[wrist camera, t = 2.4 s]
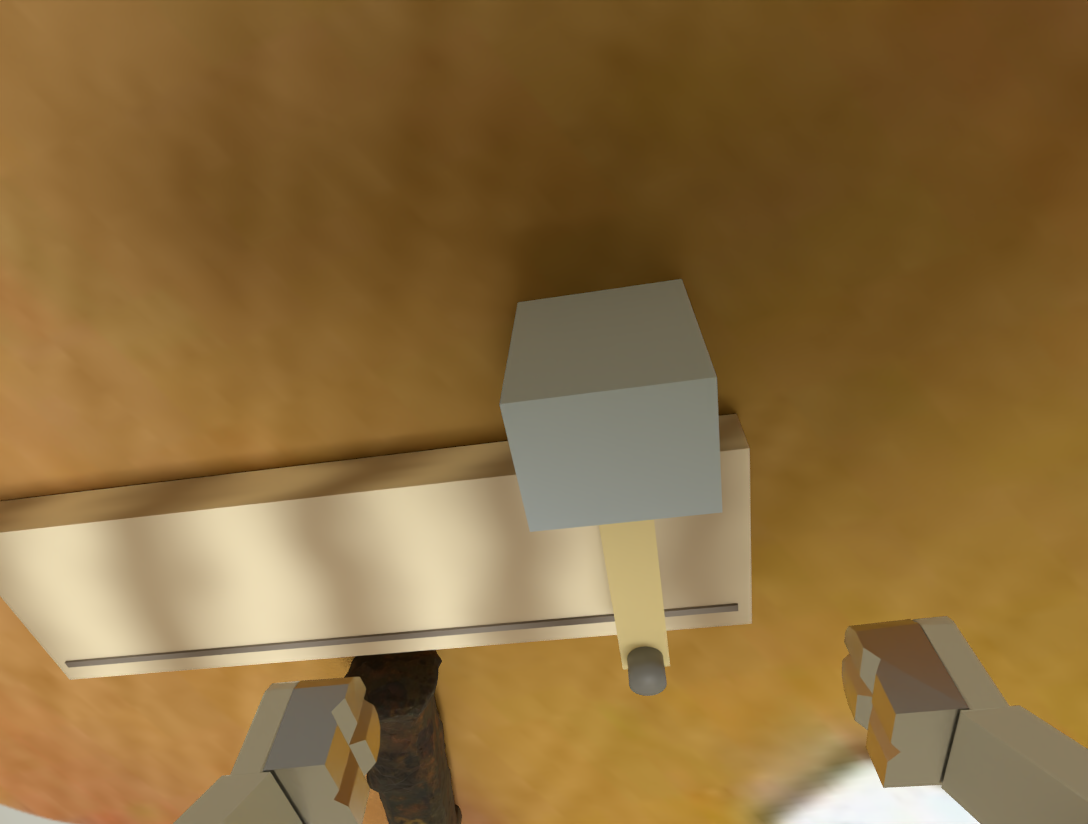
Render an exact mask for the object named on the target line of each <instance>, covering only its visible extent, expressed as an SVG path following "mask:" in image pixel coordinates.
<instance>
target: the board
mask: <svg viewBox="0 0 1088 824" xmlns="http://www.w3.org/2000/svg"><path fill="white" fill-rule="evenodd" d="M719 440H720V465H721V489H722V513H712V514H702V515H692V516H682V517H672V518H663V519H654V524H655V533H656V542H657V551H658V560H659V569H660V578H661V587H662V596H663V605H664V615H665V624H666V631H667V630H679V629H692V628H704V627H716V626H728V625H740V624H752V590H751V513H750V448H749V445H748V442H747V440H746V437H745V435H744V432H743V429H742V427H741V424H740V421H739V419H738V416H737V414H730V415H721V416H719ZM0 596H1V598H2V599H3V600H4V601H5V602H6V604H7V605H8V606H9V607H10V608H11V610H12V611H13V612H14V613H15V614H16V616H17V617H18V618H19V619H20V620H21V622H22V623H23V624H24V625H25V626H26V628H27V629H28V630H29V631H30V632H31V634H32V635H33V636H34V637H35V638H36V640H37V641H38V642H39V643H40V644H41V646H42V647H43V648H44V649H45V650H46V652H47V653H48V654H49V655H50V656H51V658H52V659H53V660H54V661H55V662H56V664H57V665H58V666H59V667H60V668H61V670H62V671H63V672H64V673H65V674H66V676H67V677H68V678H69V679H70V680H71V679H83V678H95V677H107V676H120V675H132V674H144V673H156V672H168V671H180V670H193V669H205V668H217V667H229V666H241V665H253V664H266V663H278V662H290V661H302V660H314V659H326V658H339V657H351V656H363V655H375V654H387V653H399V652H412V651H424V650H436V649H448V648H460V647H472V646H485V645H497V644H509V643H521V642H533V641H546V640H558V639H570V638H582V637H594V636H606V635H617V630H616V624H615V618H614V612H613V606H612V600H611V594H610V588H609V582H608V576H607V570H606V564H605V558H604V553H603V547H602V541H601V535H600V529H599V525H594V526H584V527H574V528H564V529H554V530H544V531H534V532H530V530H529V526H528V522H527V518H526V514H525V509H524V505H523V501H522V497H521V493H520V488H519V484H518V480H517V476H516V472H515V467H514V463H513V459H512V455H511V451H510V447H509V442H508V441H503V442H494V443H486V444H477V445H469V446H461V447H452V448H444V449H435V450H427V451H419V452H410V453H402V454H393V455H385V456H377V457H368V458H360V459H351V460H343V461H335V462H326V463H318V464H309V465H301V466H293V467H284V468H276V469H267V470H259V471H250V472H242V473H234V474H225V475H217V476H208V477H200V478H192V479H183V480H175V481H166V482H158V483H150V484H141V485H133V486H124V487H116V488H108V489H99V490H91V491H82V492H74V493H66V494H57V495H49V496H40V497H32V498H24V499H15V500H7V501H0Z"/></svg>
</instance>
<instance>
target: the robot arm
mask: <svg viewBox="0 0 1088 824" xmlns="http://www.w3.org/2000/svg"><path fill="white" fill-rule="evenodd" d="M844 642H845V644H846V647H847V649H848V651H849V653H850V654H849V655H847V656H846V657H845V658H844V659H843V661H842V679H843V686H844V692H845V695H846V698H847V702H848V705H849V707H850V710H851V712H852V715H853V717H854V720H855V721H856V722H858V723H859V724H860V725H862V726H863V727H864V728H865V729H867V730H868V733H867V741H866V748H867V751H868V753H869V755H870V758H871V760H872V762H873V764H874V767H875V769H876V771H877V774H878V776H879V778H880V781H881V783H882V785H883V788H887V787H906V786H926V785H942V789H944V790H945V791H946V792H947V793H948V794H949V795H950V796H951V797H952V798H953V799H954V800H955V801H957V802H958V803H959V804H960V805H961V806H962V807H963V808H964V809H965V810H966V811H967V812H969V813H970V814H971V815H972V816H973V817H974V818H975V819H976V820H977V821H978V822H979V823H981V824H1088V749H1087V748H1085V747H1084V746H1082V745H1080V744H1079V743H1077V742H1076V741H1074V740H1073V739H1071V738H1070V737H1068V736H1066V735H1065V734H1063V733H1062V732H1060V731H1059V730H1057V729H1056V728H1054V727H1053V726H1051V725H1049V724H1048V723H1046V722H1045V721H1043V720H1042V719H1040V718H1039V717H1037V716H1035V715H1034V714H1032V713H1031V712H1029V711H1028V710H1026V709H1025V708H1023V707H1021V706H1020V705H1019V706H1009V705H1008V703H1007V702H1006V700H1005V699H1004V697H1003V696H1002V694H1001V693H1000V691H999V690H998V688H997V687H996V685H995V683H994V682H993V680H992V679H991V677H990V676H989V674H988V673H987V671H986V670H985V668H984V667H983V665H982V664H981V662H980V661H979V659H978V658H977V656H976V655H975V653H974V652H973V650H972V649H971V647H970V645H969V644H968V642H967V641H966V639H965V638H964V636H963V635H962V633H961V632H960V630H959V629H958V627H957V626H956V624H955V623H954V621H953V620H951V619H950V618H949V617H947V616H942V617H932V618H923V619H914V620H911V619H906V620H897V621H889V622H880V623H871V624H862V625H854V626H849V627H848V628H847V630H846V632H845V640H844ZM365 692H366V687H365V685H364V684H363V682H362V680H361V678H360V677H347V678H333V679H319V680H305V681H294V682H282V683H272V685H271V686H270V687H269V688H268V689H267V690H266V691H265V693H264V695H263V697H262V700H261V702H260V705H259V707H258V709H257V712H256V714H255V717H254V719H253V721H252V724H251V726H250V729H249V731H248V733H247V736H246V738H245V741H244V743H243V745H242V748H241V750H240V753H239V755H238V757H237V760H236V762H235V765H234V767H233V769H232V772H231V774H230V775H225V776H221V777H220V778H219V779H218V780H217V781H216V782H215V783H214V784H213V785H212V786H211V787H210V788H209V789H208V790H207V791H206V792H205V793H204V794H203V795H202V796H201V797H200V798H199V799H198V800H197V801H196V802H195V803H194V804H193V805H192V806H190V807H189V808H188V809H187V810H186V811H185V812H184V813H183V814H182V815H181V816H180V817H179V818H178V819H177V820H176V821H175V822H174V823H173V824H362V822H363V817H364V813H365V809H366V805H367V800H368V796H369V792H370V787H369V785H368V783H367V781H366V779H365V777H364V776H365V775H366V774H367V773H368V771H369V770H370V769H371V768H372V767H373V766H374V764H375V763H376V761H377V756H378V752H379V747H380V723H379V718H378V714H377V711H376V709H375V707H374V705H372V704H371V703H369V702H367V701H366V700H364V696H365Z"/></svg>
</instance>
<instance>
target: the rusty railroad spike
mask: <svg viewBox="0 0 1088 824" xmlns="http://www.w3.org/2000/svg"><path fill="white" fill-rule="evenodd" d="M441 662H442V660H441V659H440V657H439V656H438V654H437V652H436V651H435V650H424V651H412V652H399V653H387V654H375V655H363V656H356V657H355V658H354V659H353V661H352V664H351V666H350V669H349V671H348V673H347V674H346V676H345V677H344V678H347V677H360V678H361V680H362V682H363V684H364V685H365V687H366V692H365V696H364V700H366V701H367V702H369V703H371V704H372V705H374V707H375V709H376V711H377V714H378V718H379V723H380V747H379V752H378V756H377V761H376V763H375V764H374V766H373V767H372V768H371V769H370V770H369V771H368V773H367V776H366V777H367V783H368V785H369V787H370V788H371V789H373V790H375V791H377V792H379V796H380V799H381V801H382V803H383V807H384V809H385V812H386V816H387V820H388V822H389V824H461V818H462V815H461V812H460V808H459V807H458V806H456V805H455V804H454V796H453V791H452V786H451V773H450V769H449V767H448V764H447V759H446V753H445V743H444V733H443V724H442V722H441V720H440V718H439V713H438V710H437V708H436V702H435V697H434V692H435V689H436V685H437V680H438V668H439V666H440V664H441Z"/></svg>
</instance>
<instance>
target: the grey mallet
mask: <svg viewBox="0 0 1088 824" xmlns="http://www.w3.org/2000/svg"><path fill="white" fill-rule="evenodd" d="M499 405H500V409H501V413H502V417H503V421H504V426H505V430H506V434H507V438H508V442H509V447H510V451H511V455H512V459H513V463H514V467H515V472H516V476H517V480H518V484H519V488H520V493H521V497H522V501H523V505H524V509H525V514H526V518H527V522H528V526H529V530H530V532H534V531H544V530H554V529H564V528H574V527H584V526H594V525H599V529H600V535H601V541H602V547H603V553H604V558H605V564H606V570H607V576H608V582H609V588H610V594H611V600H612V606H613V612H614V618H615V624H616V630H617V636H618V642H619V648H620V654H621V660H622V666H623V669H628V674H629V686H630V688H631V690H632V691H633V692H635V693H637V694H640V695H645V696H650V695H655V694H658V693H660V692H662V691H663V690H664V689H665V687H666V675H665V668H664V666H670V660H669V651H668V642H667V633H666V624H665V615H664V605H663V596H662V587H661V578H660V569H659V560H658V551H657V542H656V533H655V524H654V519H663V518H672V517H682V516H692V515H702V514H712V513H722V489H721V465H720V440H719V416H718V391H717V376H716V373H715V370H714V367H713V365H712V362H711V359H710V356H709V353H708V351H707V348H706V345H705V342H704V340H703V337H702V334H701V331H700V328H699V326H698V323H697V320H696V317H695V314H694V312H693V309H692V306H691V303H690V300H689V298H688V295H687V292H686V289H685V287H684V284H683V281H682V279H677V280H670V281H663V282H656V283H649V284H642V285H636V286H629V287H622V288H615V289H608V290H601V291H594V292H587V293H580V294H573V295H566V296H559V297H552V298H545V299H538V300H531V301H524V302H518V304H517V309H516V315H515V320H514V326H513V331H512V337H511V343H510V348H509V354H508V359H507V365H506V370H505V376H504V381H503V387H502V393H501V398H500V404H499Z"/></svg>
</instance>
